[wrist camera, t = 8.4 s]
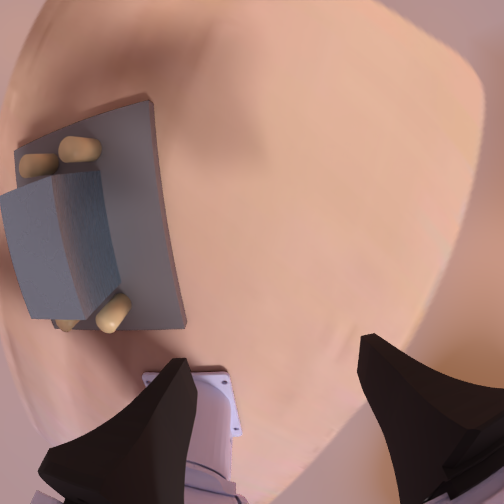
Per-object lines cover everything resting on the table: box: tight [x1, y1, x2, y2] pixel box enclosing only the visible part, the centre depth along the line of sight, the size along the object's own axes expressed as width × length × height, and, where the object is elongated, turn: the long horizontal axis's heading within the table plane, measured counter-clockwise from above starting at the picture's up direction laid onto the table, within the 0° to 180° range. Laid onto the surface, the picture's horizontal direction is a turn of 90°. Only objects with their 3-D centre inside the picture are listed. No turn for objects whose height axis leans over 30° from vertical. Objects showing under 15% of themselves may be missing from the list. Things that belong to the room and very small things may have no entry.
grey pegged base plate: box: [14, 100, 187, 333], centre depth 16 cm, size 16×13×4 cm
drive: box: [0, 171, 122, 320], centre depth 15 cm, size 8×5×6 cm, turn 6°
